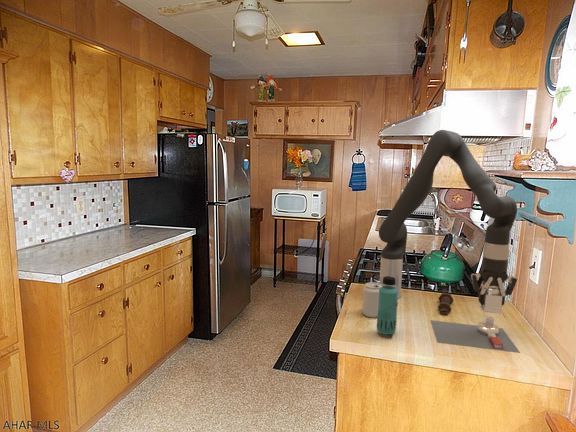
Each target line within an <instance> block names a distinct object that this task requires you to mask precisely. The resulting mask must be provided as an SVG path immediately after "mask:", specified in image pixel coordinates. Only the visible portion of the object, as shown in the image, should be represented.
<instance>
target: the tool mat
mask: <svg viewBox="0 0 576 432" xmlns="http://www.w3.org/2000/svg"><path fill="white" fill-rule="evenodd" d="M429 322H430V324H431V326H432V329H433V334H434V336H435V340H436V343H438V344H446V345H452V346H453V345H455V346H460V347H461V346H462V347H469V348H477V349H486V350H487V349H488V350H494V351H500V352H509V353H519V354H521V352H520V350H519V349H518V347H517V346H516V345H515V343H514V342H513V340H512V339H511V338H510V337H509V335H508V334H507V333H506V331H505V329H503V328H502V327H499V332H498V336H496V337H498V338H499V339H500V341H501V342H502V343H503V349H497V348H493V347H492V345H491V343H490V342H489V338H488V337H487V336H486V335H483V334H481V333H479V332H478V331H477V328H478V324H477V325H474V324H468V323H467V324H465V323H460V322H459V323H457V322H451V321H449V322H448V321H440V320H432V319H430V321H429Z"/></svg>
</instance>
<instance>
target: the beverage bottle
mask: <svg viewBox="0 0 576 432" xmlns="http://www.w3.org/2000/svg"><path fill="white" fill-rule="evenodd" d="M383 284H385V285H386V286H382V287H381V288H380V289H379V302H378V315H377V318H376V330H377V331H378V332H379V333H380V334H384V335H393V334H395V333H396V330H397V319H398V318H397V315H398V314H397V313H398V311H397V310H398V304H399V303H398V300H399V298H397V297H398V290H397V289H396V288H395V287H393V286H388V285H395V278H394V277H390V276H385V277H383Z"/></svg>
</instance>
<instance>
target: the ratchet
mask: <svg viewBox="0 0 576 432" xmlns="http://www.w3.org/2000/svg"><path fill="white" fill-rule="evenodd" d="M494 323H495V320H494V318H493V317H492V316H488V315H487V316H486V315H485V316H483V322H482V321H481V322H478V323H477V326H478V328H477V331H478V332H479V333H481V334H483V335H486V336H487V337H488V338H489V342H490V343H491V345H492V347H493V348H497V349H503V343H502V342H501V341H500V339H499V338H498V337H496V336H498V332H499V328H500V327H499V326H498V325H496V324H494Z"/></svg>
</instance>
